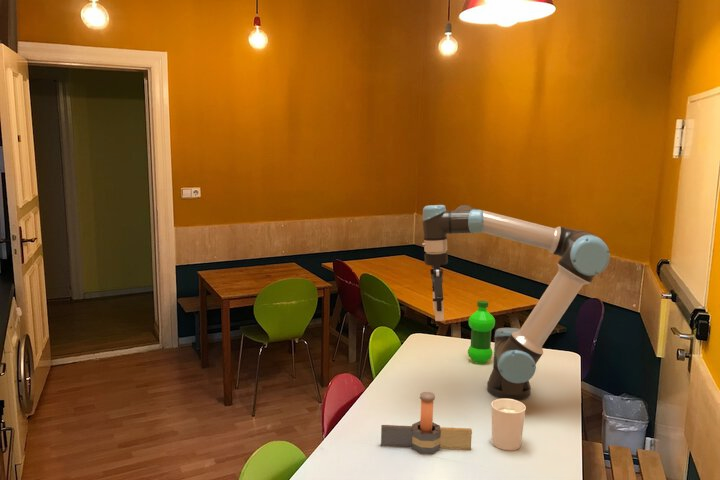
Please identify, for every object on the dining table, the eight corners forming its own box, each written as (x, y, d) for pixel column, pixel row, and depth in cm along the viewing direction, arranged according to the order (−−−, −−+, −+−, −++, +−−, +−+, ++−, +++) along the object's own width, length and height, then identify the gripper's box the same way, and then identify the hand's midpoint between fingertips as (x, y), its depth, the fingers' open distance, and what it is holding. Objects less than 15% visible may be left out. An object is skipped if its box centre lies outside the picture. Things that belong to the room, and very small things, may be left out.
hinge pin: (432, 443, 174) (434, 392, 171) (433, 450, 170) (435, 398, 167) (417, 442, 174) (419, 391, 171) (418, 450, 170) (420, 397, 167)
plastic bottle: (466, 356, 246) (468, 298, 242) (491, 357, 245) (495, 299, 241) (467, 365, 236) (470, 304, 232) (493, 366, 235) (497, 306, 231)
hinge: (468, 441, 175) (469, 423, 174) (472, 456, 167) (473, 436, 166) (381, 438, 176) (381, 419, 175) (380, 452, 168) (381, 432, 167)
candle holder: (504, 455, 168) (507, 415, 166) (482, 439, 176) (484, 402, 175) (530, 447, 172) (533, 408, 170) (507, 432, 181) (509, 395, 179)
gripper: (423, 248, 206) (425, 307, 209) (425, 258, 182) (428, 325, 184) (444, 247, 206) (447, 306, 208) (450, 257, 181) (452, 324, 183)
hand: (438, 315), depth 196 cm, fingers open, 13 cm apart
